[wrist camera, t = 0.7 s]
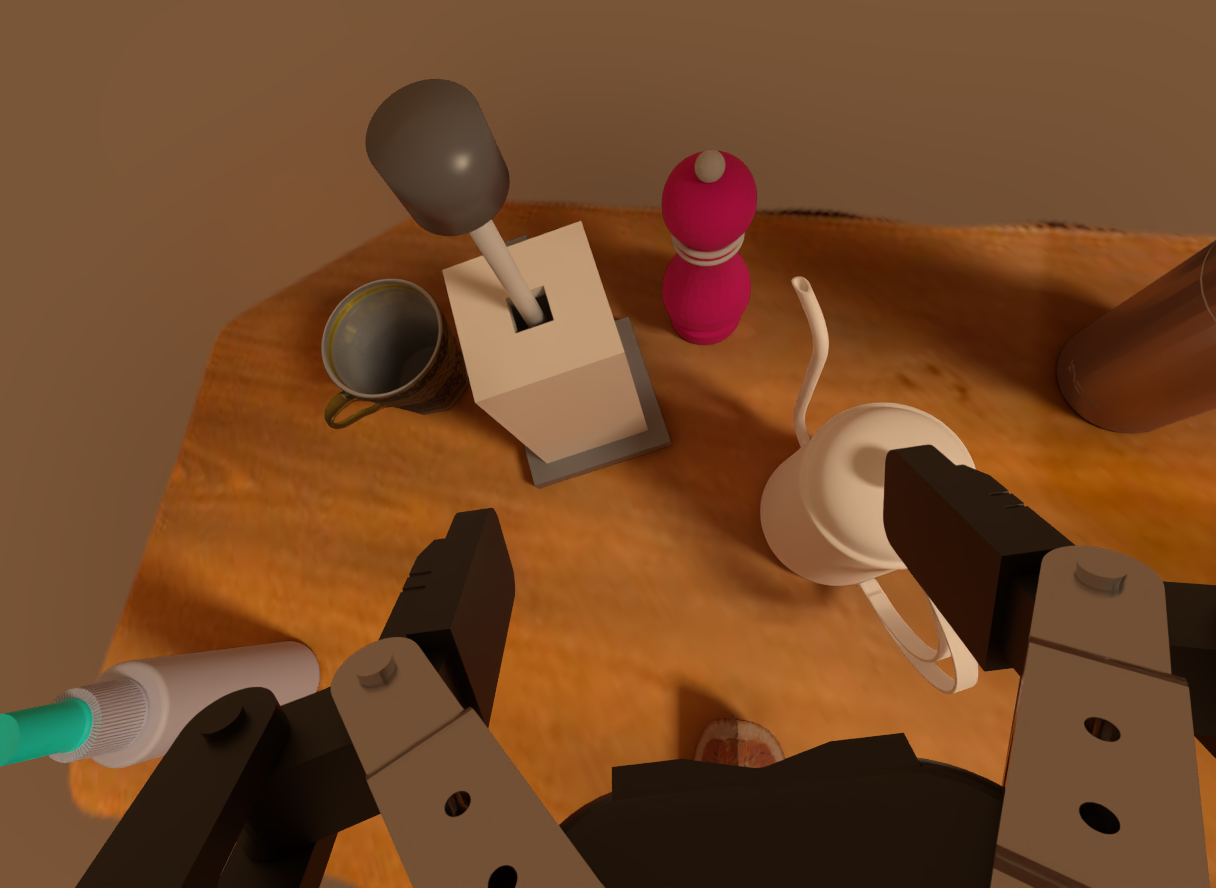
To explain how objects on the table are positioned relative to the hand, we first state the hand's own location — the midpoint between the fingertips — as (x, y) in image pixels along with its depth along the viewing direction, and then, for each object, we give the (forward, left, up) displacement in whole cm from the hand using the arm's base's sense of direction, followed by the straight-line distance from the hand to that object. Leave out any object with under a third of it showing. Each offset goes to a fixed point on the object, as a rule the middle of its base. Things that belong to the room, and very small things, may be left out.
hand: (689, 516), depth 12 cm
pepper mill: (-8, -21, -37) cm, 44 cm away
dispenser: (+5, -16, -37) cm, 41 cm away
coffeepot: (-11, -1, -37) cm, 39 cm away
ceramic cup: (+19, -22, -37) cm, 47 cm away
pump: (+5, -16, -25) cm, 30 cm away
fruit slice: (+2, +15, -37) cm, 40 cm away
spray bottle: (+36, -1, -37) cm, 52 cm away
